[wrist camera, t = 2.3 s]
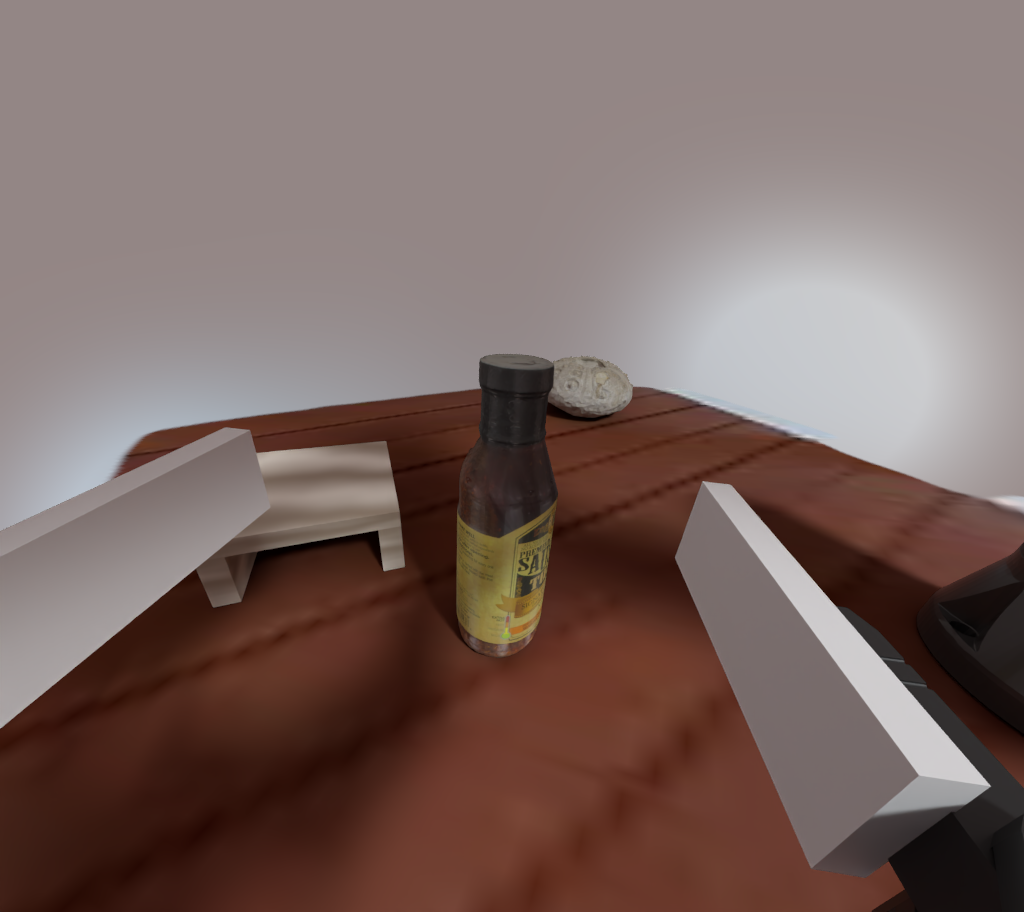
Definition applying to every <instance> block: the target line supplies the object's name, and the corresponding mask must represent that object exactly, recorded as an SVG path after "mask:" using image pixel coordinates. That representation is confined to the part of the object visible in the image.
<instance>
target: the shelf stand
mask: <svg viewBox="0 0 1024 912" xmlns="http://www.w3.org/2000/svg"><path fill="white" fill-rule="evenodd" d="M256 454H257V458H258V462H259V466H260V469H261V473H262V477H263V481H264V484H265V488H266V492H267V496H268V499H269V503H270V508H269V509H268V510H267V511H266V512H264V513H263V514H262V515H261V516H259V517H258V518H257V519H256V520H255V521H253V522H252V523H251V524H250V525H248V526H247V527H246V528H245V529H244V530H242V531H241V532H240V533H239V534H237V535H236V536H235V537H234V538H233V539H231V540H230V541H229V542H228V543H226V544H225V545H224V546H223V547H222V548H220V549H219V550H218V551H217V552H215V553H214V554H213V555H212V556H211V557H209V558H208V559H207V560H206V561H204V562H203V563H202V564H201V565H200V566H198V567H197V568H196V570H197V573H198V575H199V577H200V579H201V582H202V584H203V586H204V588H205V591H206V593H207V595H208V597H209V600H210V602H211V604H212V606H213V608H214V607H219V606H223V605H228V604H233V603H237V602H242V598H243V595H244V592H245V589H246V586H247V583H248V580H249V577H250V573H251V570H252V567H253V564H254V561H255V558H256V555H257V552H258V551H262V550H268V549H273V548H279V547H285V546H291V545H296V544H302V543H308V542H314V541H319V540H325V539H331V538H336V537H342V536H348V535H354V534H359V533H365V532H371V531H377V530H378V533H379V540H380V548H381V556H382V563H383V571H387V570H392V569H397V568H402V567H405V563H404V552H403V542H402V531H401V521H400V511H399V506H398V500H397V495H396V490H395V485H394V480H393V474H392V469H391V464H390V459H389V454H388V448H387V443H386V441H381V442H370V443H360V444H349V445H338V446H328V447H317V448H306V449H296V450H285V451H274V452H264V453H256Z"/></svg>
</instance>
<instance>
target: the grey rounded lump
mask: <svg viewBox="0 0 1024 912" xmlns="http://www.w3.org/2000/svg"><path fill="white" fill-rule="evenodd" d="M553 364H554V376H553V377H554V381H553V388H552V390H551V391H550V393H549V396H548V402H549V403H551V404H553V405H555V406H556V407H558V408H560V409H562V410H563V411H565V412H567V413H569V414H571V415H573V416H580V417H587V418H589V417H591V418H595V417H599V416H604V415H609V414H611V413H614V412H618V411H621V410H622V409H623V408H624V407H626V405H627V404H628V403H629V402H630V400H631V398H632V387H633V385H632V384H630V382H629V380H628V377H627V374H625V373H623V372H622V371H621V370H620V369H619V368H618V367H617V366H616V365H614V364H612V363H610V362H609V361H607V362H606V361H603V360H600V359H596V358H595V357H588V356H586V357H583V356H581V357H574V358H572V357H570V358H562V359H560V360H558V361H554V362H553Z"/></svg>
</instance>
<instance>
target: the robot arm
mask: <svg viewBox="0 0 1024 912" xmlns="http://www.w3.org/2000/svg"><path fill="white" fill-rule="evenodd" d="M269 508H270V503H269V499H268V496H267V492H266V488H265V484H264V481H263V477H262V473H261V469H260V466H259V462H258V458H257V454H256V451H255V447H254V443H253V439H252V436H251V432H250V430H243V429H234V428H226V427H225V428H223V429H221V430H219V431H217V432H215V433H212V434H210V435H208V436H206V437H204V438H202V439H199V440H197V441H195V442H193V443H191V444H189V445H186V446H184V447H182V448H180V449H178V450H175V451H173V452H171V453H169V454H167V455H165V456H162V457H160V458H158V459H156V460H154V461H152V462H149V463H147V464H145V465H143V466H141V467H139V468H136V469H134V470H132V471H130V472H128V473H125V474H123V475H121V476H119V477H117V478H115V479H112V480H110V481H108V482H106V483H104V484H102V485H99V486H97V487H95V488H93V489H91V490H89V491H86V492H84V493H82V494H80V495H78V496H76V497H73V498H71V499H69V500H67V501H65V502H63V503H60V504H58V505H56V506H54V507H52V508H49V509H47V510H45V511H43V512H41V513H39V514H37V515H34V516H32V517H30V518H28V519H26V520H23V521H21V522H19V523H17V524H15V525H13V526H10V527H8V528H6V529H4V530H2V531H0V728H2V727H3V726H4V725H5V724H6V723H8V722H9V721H10V720H11V719H13V718H14V717H15V716H16V715H17V714H19V713H20V712H21V711H22V710H24V709H25V708H26V707H27V706H28V705H30V704H31V703H32V702H33V701H35V700H36V699H37V698H38V697H39V696H41V695H42V694H43V693H44V692H46V691H47V690H48V689H49V688H50V687H52V686H53V685H54V684H55V683H57V682H58V681H59V680H60V679H61V678H63V677H64V676H65V675H66V674H68V673H69V672H70V671H71V670H72V669H74V668H75V667H76V666H77V665H79V664H80V663H81V662H82V661H83V660H85V659H86V658H87V657H88V656H90V655H91V654H92V653H93V652H94V651H96V650H97V649H98V648H99V647H101V646H102V645H103V644H104V643H105V642H107V641H108V640H109V639H110V638H112V637H113V636H114V635H115V634H116V633H118V632H119V631H120V630H121V629H123V628H124V627H125V626H126V625H127V624H129V623H130V622H131V621H132V620H134V619H135V618H136V617H137V616H138V615H140V614H141V613H142V612H143V611H145V610H146V609H147V608H148V607H149V606H151V605H152V604H153V603H154V602H156V601H157V600H158V599H159V598H160V597H162V596H163V595H164V594H165V593H167V592H168V591H169V590H170V589H171V588H173V587H174V586H175V585H176V584H178V583H179V582H180V581H181V580H182V579H184V578H185V577H186V576H187V575H189V574H190V573H191V572H192V571H193V570H195V569H196V568H197V567H198V566H200V565H201V564H202V563H203V562H204V561H206V560H207V559H208V558H209V557H211V556H212V555H213V554H214V553H215V552H217V551H218V550H219V549H220V548H222V547H223V546H224V545H225V544H226V543H228V542H229V541H230V540H231V539H233V538H234V537H235V536H236V535H237V534H239V533H240V532H241V531H242V530H244V529H245V528H246V527H247V526H248V525H250V524H251V523H252V522H253V521H255V520H256V519H257V518H258V517H259V516H261V515H262V514H263V513H264V512H266V511H267V510H268V509H269ZM675 559H676V562H677V564H678V566H679V568H680V571H681V573H682V575H683V578H684V580H685V582H686V584H687V587H688V589H689V591H690V594H691V596H692V598H693V600H694V603H695V605H696V607H697V609H698V612H699V614H700V616H701V619H702V621H703V623H704V625H705V628H706V630H707V632H708V635H709V637H710V639H711V641H712V644H713V646H714V648H715V651H716V653H717V655H718V657H719V660H720V662H721V664H722V667H723V669H724V671H725V673H726V676H727V678H728V680H729V682H730V685H731V687H732V689H733V692H734V694H735V696H736V698H737V701H738V703H739V705H740V708H741V710H742V712H743V714H744V717H745V719H746V721H747V724H748V726H749V728H750V730H751V733H752V735H753V737H754V739H755V742H756V744H757V746H758V749H759V751H760V753H761V755H762V758H763V760H764V762H765V765H766V767H767V769H768V771H769V774H770V776H771V778H772V781H773V783H774V785H775V787H776V790H777V792H778V794H779V797H780V799H781V801H782V803H783V806H784V808H785V810H786V812H787V815H788V817H789V819H790V822H791V824H792V826H793V828H794V831H795V833H796V835H797V838H798V840H799V842H800V844H801V847H802V849H803V851H804V854H805V856H806V858H807V860H808V863H809V865H810V867H811V869H816V870H822V871H828V872H834V873H840V874H846V875H852V876H858V877H864V878H866V877H867V876H869V875H870V874H871V873H873V872H874V871H876V870H877V869H878V868H880V867H881V866H882V865H884V864H885V863H887V862H888V861H889V862H890V864H891V866H892V867H893V869H894V871H895V873H896V874H897V876H898V878H899V880H900V881H901V883H902V885H903V886H904V888H905V890H903V891H902V892H900V893H899V894H897V895H896V896H894V897H892V898H891V899H889V900H888V901H886V902H885V903H883V904H882V905H880V906H878V907H877V908H875V909H874V910H872V912H1024V788H1023V787H1022V786H1021V785H1020V784H1019V783H1018V782H1017V781H1016V780H1015V778H1014V777H1013V776H1012V775H1011V774H1010V773H1009V772H1008V771H1007V770H1006V769H1005V768H1004V767H1003V765H1002V764H1001V763H1000V762H999V761H998V760H997V759H996V758H995V757H994V756H993V755H992V754H991V752H990V751H989V750H988V749H987V748H986V747H985V746H984V745H983V744H982V743H981V742H980V741H979V739H978V738H977V737H976V736H975V735H974V734H973V733H972V732H971V731H970V730H969V729H968V728H967V726H966V725H965V724H964V723H963V722H962V721H961V720H960V719H959V718H958V717H957V716H956V715H955V713H954V712H953V711H952V710H951V709H950V708H949V707H948V706H947V705H946V704H945V703H944V702H943V700H942V699H941V698H940V697H939V696H938V695H937V694H936V693H935V692H934V691H933V690H930V689H928V688H927V686H926V684H927V683H926V682H925V681H924V680H923V679H922V678H921V677H920V676H919V674H918V673H917V672H916V671H915V670H914V669H913V668H912V667H911V666H910V665H907V664H905V663H904V658H903V657H902V656H901V655H900V654H899V653H898V652H897V651H896V650H895V648H894V647H893V646H892V645H891V644H890V643H889V642H888V641H887V640H886V639H885V638H884V637H883V635H882V634H881V633H880V632H879V631H877V630H876V629H875V628H874V627H872V626H871V625H870V624H868V623H867V622H866V621H864V620H863V619H862V618H860V617H859V616H858V615H856V614H855V613H854V612H852V611H851V610H850V609H848V608H847V607H839V606H835V605H834V604H833V603H832V601H831V600H830V599H829V598H828V597H827V596H826V595H825V593H824V592H823V591H822V590H821V589H820V588H819V586H818V585H817V584H816V583H815V582H814V581H813V579H812V578H811V577H810V576H809V575H808V574H807V572H806V571H805V570H804V569H803V568H802V567H801V566H800V564H799V563H798V562H797V561H796V560H795V559H794V557H793V556H792V555H791V554H790V553H789V552H788V550H787V549H786V548H785V547H784V546H783V545H782V544H781V542H780V541H779V540H778V539H777V538H776V537H775V535H774V534H773V533H772V532H771V531H770V530H769V528H768V527H767V526H766V525H765V524H764V523H763V521H762V520H761V519H760V518H759V517H758V516H757V515H756V513H755V512H754V511H753V510H752V509H751V508H750V506H749V505H748V504H747V503H746V502H745V501H744V499H743V498H742V497H741V496H740V495H739V494H738V493H737V491H736V490H735V489H734V488H733V487H732V486H731V485H728V484H719V483H711V482H702V484H701V487H700V490H699V493H698V495H697V498H696V501H695V504H694V506H693V509H692V512H691V515H690V517H689V520H688V523H687V526H686V529H685V531H684V534H683V537H682V540H681V542H680V545H679V548H678V551H677V553H676V556H675ZM916 620H917V627H918V630H919V633H920V635H921V637H922V639H923V641H924V643H925V644H926V646H927V647H928V649H929V650H930V652H931V653H932V654H933V655H934V657H935V658H936V659H937V660H938V662H939V663H940V664H941V665H942V666H943V667H944V668H945V669H946V670H947V671H948V672H949V673H950V674H951V675H952V676H953V677H954V678H955V679H956V680H957V681H958V682H959V683H960V684H961V685H962V686H963V687H964V688H965V689H966V690H968V691H969V692H970V693H971V694H972V695H973V696H975V697H976V698H977V699H978V700H979V701H980V702H982V703H983V704H984V705H985V706H987V707H988V708H989V709H990V710H992V711H993V712H994V713H996V714H997V715H998V716H999V717H1001V718H1002V719H1003V720H1005V721H1006V722H1008V723H1009V724H1010V725H1012V726H1013V727H1014V728H1016V729H1017V730H1019V731H1020V732H1022V733H1023V734H1024V543H1023V544H1022V545H1021V546H1020V547H1019V548H1018V549H1017V550H1016V551H1015V552H1014V553H1013V554H1011V555H1010V556H1008V557H1006V558H1004V559H1002V560H999V561H997V562H995V563H993V564H991V565H989V566H987V567H985V568H983V569H981V570H979V571H976V572H974V573H972V574H970V575H968V576H966V577H964V578H962V579H960V580H958V581H956V582H953V583H951V584H949V585H947V586H945V587H943V588H941V589H939V590H938V591H937V592H935V593H934V594H933V595H932V596H931V597H930V599H929V600H928V601H927V602H926V603H925V605H924V606H923V607H922V608H921V609H920V611H919V612H918V614H917V619H916Z"/></svg>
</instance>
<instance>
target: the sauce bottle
mask: <svg viewBox="0 0 1024 912" xmlns="http://www.w3.org/2000/svg"><path fill="white" fill-rule="evenodd" d="M479 364H480V368H479V382H480V387H481V389H482V401H481V422H480V424H479V431H480V435H481V436H480V438H479V439H478V440H477V443H476V444H475V446H474V447H473V448H471V449H470V450H469V453H468V454H467V456H466V458H465V460H464V462H463V464H462V468H461V472H460V479H459V503H458V508H457V577H456V579H457V596H456V606H457V617H458V621H459V628H460V632H461V635H462V638H463V639H464V641H465V642H466V643H467V644H468V646H469V647H470V648H472V649H474V650H475V651H476V652H478V653H481V654H484V655H486V656H491V657H498V658H501V657H505V656H510V655H513V654H515V653H517V652H519V651H520V650H521V649H523V648H524V647H525V646H526V645H527V644H528V643H529V642H530V641H531V640H532V638H533V635H534V633H535V632H536V629H537V624H538V622H539V619H540V615H541V608H542V602H543V595H544V588H545V581H546V574H547V567H548V560H549V554H550V548H551V540H552V533H553V525H554V518H555V512H556V505H557V497H558V491H557V487H556V483H555V479H554V475H553V471H552V467H551V463H550V459H549V455H548V451H547V447H546V443H545V435H546V430H545V423H546V411H547V404H548V396H549V393H550V391H551V390H552V388H553V381H554V377H553V376H554V364H553V363H552V362H550V361H548V360H546V359H543V358H539V357H535V356H529V355H518V354H495V355H488V356H484V357H483V358H481V359H480V363H479Z"/></svg>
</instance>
